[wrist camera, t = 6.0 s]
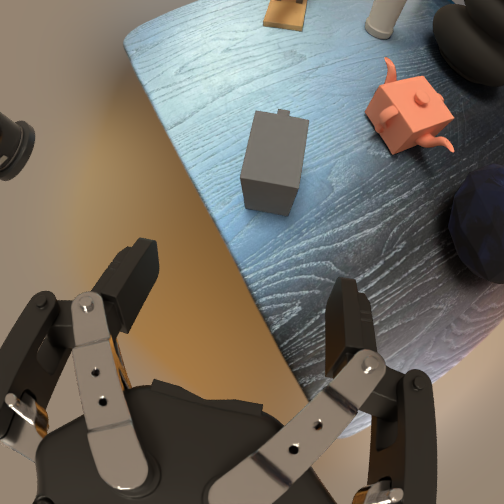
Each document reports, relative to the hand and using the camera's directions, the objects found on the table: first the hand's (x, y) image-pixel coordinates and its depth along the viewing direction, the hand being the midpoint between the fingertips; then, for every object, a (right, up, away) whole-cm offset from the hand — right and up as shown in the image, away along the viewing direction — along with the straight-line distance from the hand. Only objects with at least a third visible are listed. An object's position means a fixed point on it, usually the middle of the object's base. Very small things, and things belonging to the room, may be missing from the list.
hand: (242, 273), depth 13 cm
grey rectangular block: (+3, +9, +22) cm, 24 cm away
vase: (+41, +38, +25) cm, 61 cm away
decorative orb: (+31, +3, +21) cm, 37 cm away
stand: (+7, +45, +26) cm, 52 cm away
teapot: (+21, +18, +23) cm, 36 cm away
